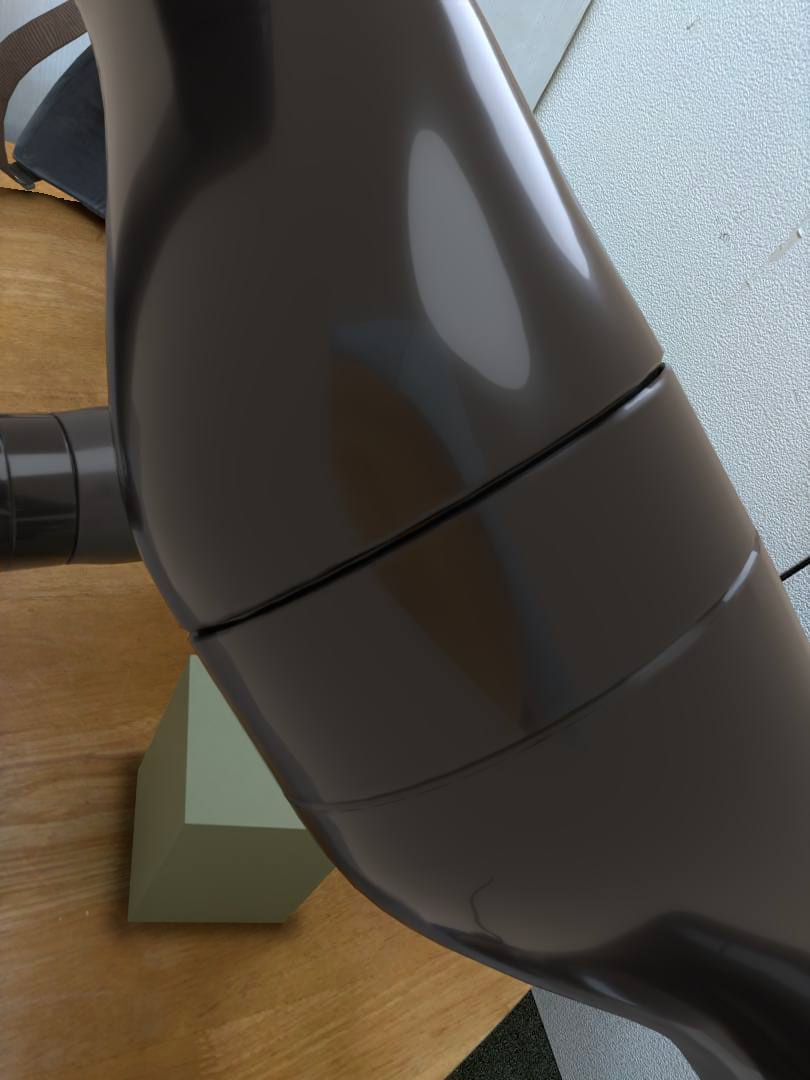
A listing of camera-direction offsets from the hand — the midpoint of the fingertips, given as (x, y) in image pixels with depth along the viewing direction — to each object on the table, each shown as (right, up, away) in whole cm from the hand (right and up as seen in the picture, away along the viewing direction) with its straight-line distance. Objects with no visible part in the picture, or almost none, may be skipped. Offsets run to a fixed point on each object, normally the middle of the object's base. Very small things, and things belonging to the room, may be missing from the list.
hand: (429, 463), depth 54 cm
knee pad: (-14, +19, +19) cm, 30 cm away
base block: (-12, -21, -5) cm, 25 cm away
